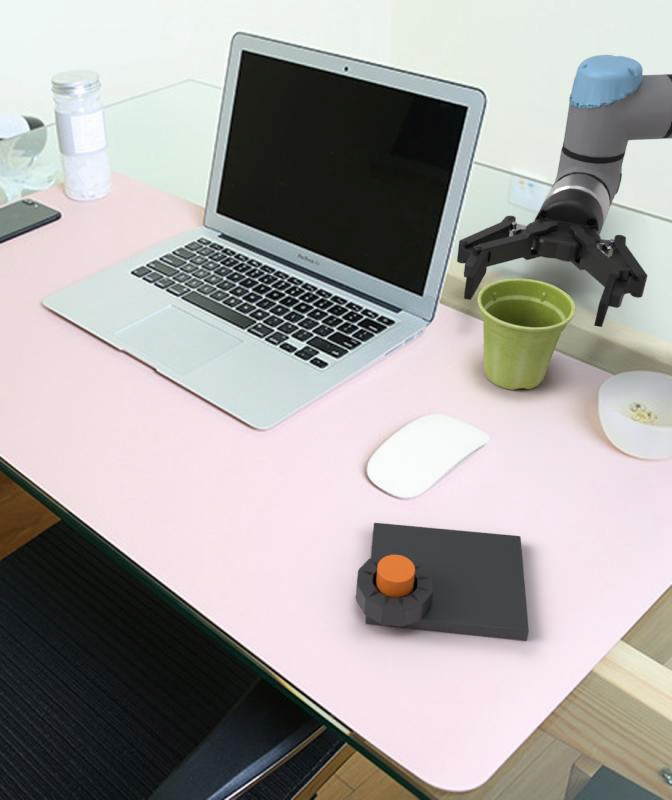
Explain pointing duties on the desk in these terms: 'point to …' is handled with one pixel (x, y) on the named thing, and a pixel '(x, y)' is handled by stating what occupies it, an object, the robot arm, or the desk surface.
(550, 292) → the plant pot
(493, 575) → the dark piece
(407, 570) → the button
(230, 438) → the desk surface
